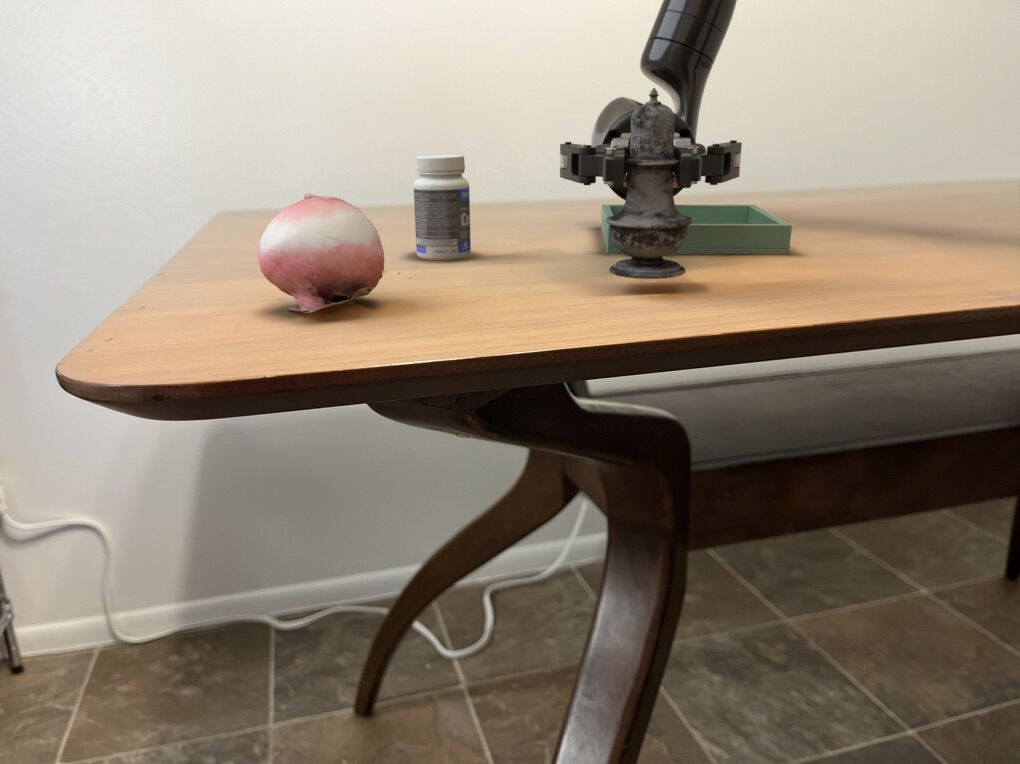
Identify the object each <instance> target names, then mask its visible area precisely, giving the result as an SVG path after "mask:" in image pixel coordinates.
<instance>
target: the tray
mask: <svg viewBox="0 0 1020 764" xmlns="http://www.w3.org/2000/svg"><path fill="white" fill-rule="evenodd" d="M675 207H676V209H677V210H678V211H679V212H680V213H681V214H682V215H684V216H688V217H691V218H692V219H693V222H692V223H691V224H690V225H688V232H687V236H686V238H685V240H684V243H683V245H682V246H681V247H680V248H679V249H678V250H677V251H676V252H675V253H673V254H672V255H674V254H675V255H677V254H679V255H789V254H790V247H791V240H792V239H791V237H792V231H793V229H792V228H793V225H792V224H790V223H789V222H787V221H785V220H784V219H781V218H780V217H778V216H776V215H775V214H772V213H770V212H769V211H767V210H765V209H764V208H762V207H759V206H757V205H756V204H675ZM623 208H624V204H601V211H600V213H601V214H600V216H601V217H600V230H601V234H602V236H603V241H604V245H605V248H606V252H607V254H623V253H622V252H620V251H619V250H618V248H617V247H616V246H615V245H614V242H613V240H612V237H611V234H610V224H607V223H606V218H608V217H609V216H613V215H616V214H617V213H619V212H620V211H621V210H622V209H623Z"/></svg>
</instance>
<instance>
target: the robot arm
mask: <svg viewBox="0 0 1020 764" xmlns="http://www.w3.org/2000/svg"><path fill="white" fill-rule="evenodd" d="M737 2H738V0H662V3H661V5H660V8H659V10H658V13H657V16H656V18H655V20H654V23H653V26H652V28H651V31H650V33H649V35H648V38H647V41H646V43H645V46H644V48H643V51H642V53H641V57H640V60H639V69H640V72H641V73H642V74H643V75H644V77H646V78H647V79H648V80H649V81H651V82H652V83H654V84H655V85H656V86H658V87H660V88H661V89H662V90H663V91H665V92H666V93H667V94H668V95H669V97H670V98H671V100H672V104H673V112H674V116H675V126H674V147H673V158H675V159H676V160H678V164H676V165H675V166H674V172H673V198H674V197H675V196H677V195H678V194H679V193H680V192H681V191H683V189H691V187H693V185H698V182H701V181H702V177H704V183H705V184H709V186H717V185H718V184H724V183H726V182H729V181H731V180H734V179H737V178H739V177H740V172H741V161H742V159H741V158H742V147H743V145H742V144H743V143H742V141H741V142H739V141H738V140H733V139H732V140H731V139H730V140H729V141H727V142H716V143H712V145H707V146H705V145H704V144H702V143H697V137H698V135H697V134H698V127H699V126H698V125H699V119H700V112H701V108H702V107H701V106H702V101H703V97H704V93H705V89H706V85H707V82H708V79H709V77H710V74H711V71H712V69H713V66H714V64H715V62H716V59H717V57H718V54H719V52H720V50H721V48H722V45H723V42H724V40H725V37H726V35H727V33H728V31H729V28H730V25H731V23H732V20H733V17H734V13H735V10H736V5H737ZM642 105H645V103H643V102H641V101H638V100H635V99H632V98H630V97H626V96H619V97H617V98H614V99H612V100H611V101H609V102H608V103H607V104H606V105H605V106H604V107H603V109H601V111H600V113H599V114H598V116H597V119H596V120H595V122H594V126H593V129H592V133H591V140H590V144H584V143H581V144H579V143H572V141H565V142H564V143H560V144H559V178H561V179H563V180H568V181H571V182H573V183H577V184H582V185H583V186H591V185H592V184H596V183H597V178H602V182H603V184H604V185H607V186H608V187H609V188H610V190H611V191H612V192H613V194H615V195H616V196H618V197H619V198H620V199H622V200H624V201H626V197H627V193H628V168H629V167H628V166H627V164H625V163H624V162H625V161H626V160H627V159H629V158H630V140H631V117H632V114H633V112H634V111H635V110H636V109H637V108H638V107H640V106H642Z"/></svg>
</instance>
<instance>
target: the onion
mask: <svg viewBox="0 0 1020 764" xmlns="http://www.w3.org/2000/svg"><path fill="white" fill-rule="evenodd" d="M257 258H258V265H259V268H260V271H261V273H262V275H263V276H264V278H265V279H266V280H267V281H268V282H269V283H271V284H272V285H273V286H274V287H276V288H277V289H278V290H280V292H282V293H285V294H286V295H288V296H291V297H292V298H293V299H294V301H295V303H296V304H295V305H294V304H293V305H291V306H288V307H286V308H285V309H286V310H288V311H289V310H290V311H294V312H302V313H304V314H311V313H313V312H317V311H320V310H324V309H326V308H329V307H333V306H336V305H339V304H343V303H345V302H348V301H352V300H355V299H358V298H361V297H364V296H368V295H369V294H370V293H371V292H373V291H374V289H376V288H377V286H378V284H379V282H380V281H381V279H382V278H383V277H384V274H383V272H384V270H385V251H384V248H383V244H382V241H381V237H380V234H379V231H378V229H377V228H376V226H375V225H374V223H373V221H372V220H371V219H370V218H369V217H368V216H367V215H366V213H365V212H363V211H362V210H360V208H358V207H357V206H356V205H353V204H352V203H349V202H347V201H346V200H344V199H342V198H340V197H338V196H335V195H325V196H321V195H316V194H313V193H311V192H310V193H309V192H307V193H304V197H303V199H301V200H299V201H297V202H295V203H292V204H290V205H287V206H286V207H284V208H283V209H282V210H280V211H279V212H278V213H277V214H276V215H275V216H274V217H273V218H272V220H271V221H270V222H269V223H268V225H267V226H266V228H265V229H264V231H263V234H262V236H261V238H260V240H259V243H258V250H257Z"/></svg>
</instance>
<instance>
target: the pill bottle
mask: <svg viewBox="0 0 1020 764" xmlns="http://www.w3.org/2000/svg"><path fill="white" fill-rule="evenodd" d="M465 170H466V165H465V155H461V154H434V155H430V154H429V155H420V156H416V171H417V172H416V173H417V175H419V178H418V179H416V180H415V181H414V183H413V200H414V201H413V205H414V227H415V229H414V231H415V245H416V246H415V247H416V249H415V251H416V256H417V257H419V258H420V259H422V260H429V261H451V260H453V261H454V260H461V259H464V258H468V257H469V256H470V255H471V250H472V248H471V247H472V246H471V245H472V244H471V241H472V240H471V205H470V202H471V200H470V199H471V198H470V197H471V196H470V195H471V194H470V183H469V181H468V180H467V179H466V178H465V177H463V174H464V173H465Z"/></svg>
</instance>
